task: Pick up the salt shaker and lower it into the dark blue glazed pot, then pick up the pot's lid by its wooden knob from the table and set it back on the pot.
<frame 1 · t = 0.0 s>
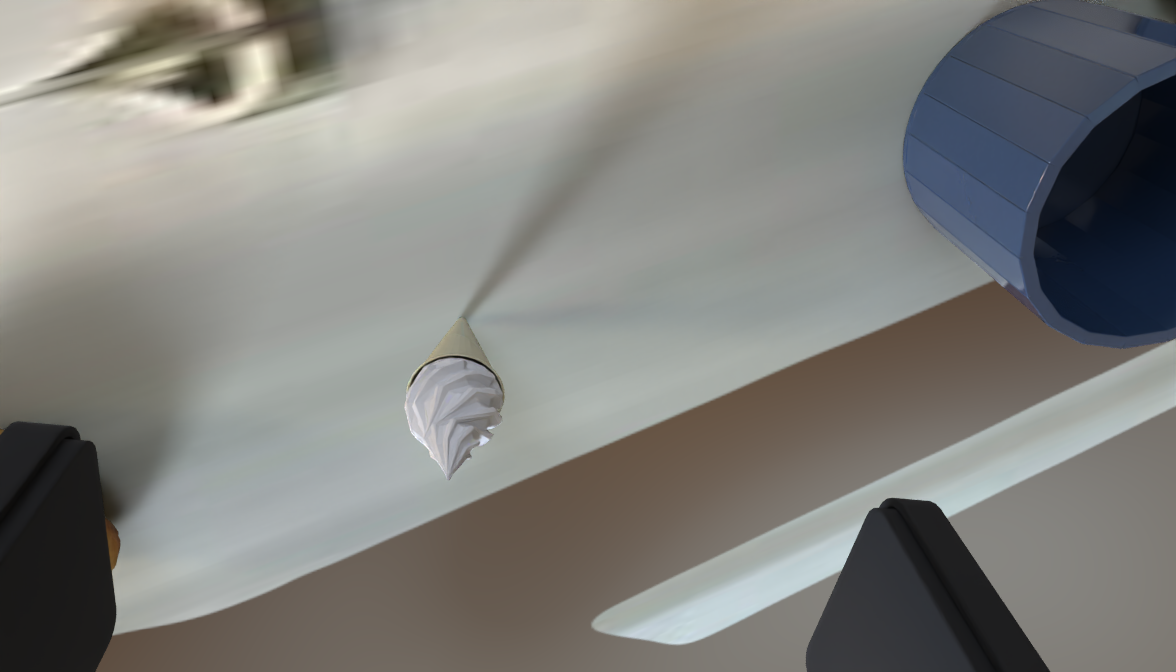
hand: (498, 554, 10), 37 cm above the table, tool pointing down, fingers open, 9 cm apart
pot: (1023, 129, 47), on the table
bread roll: (45, 489, 54), on the table
ice cream cone: (461, 318, 50), on the table
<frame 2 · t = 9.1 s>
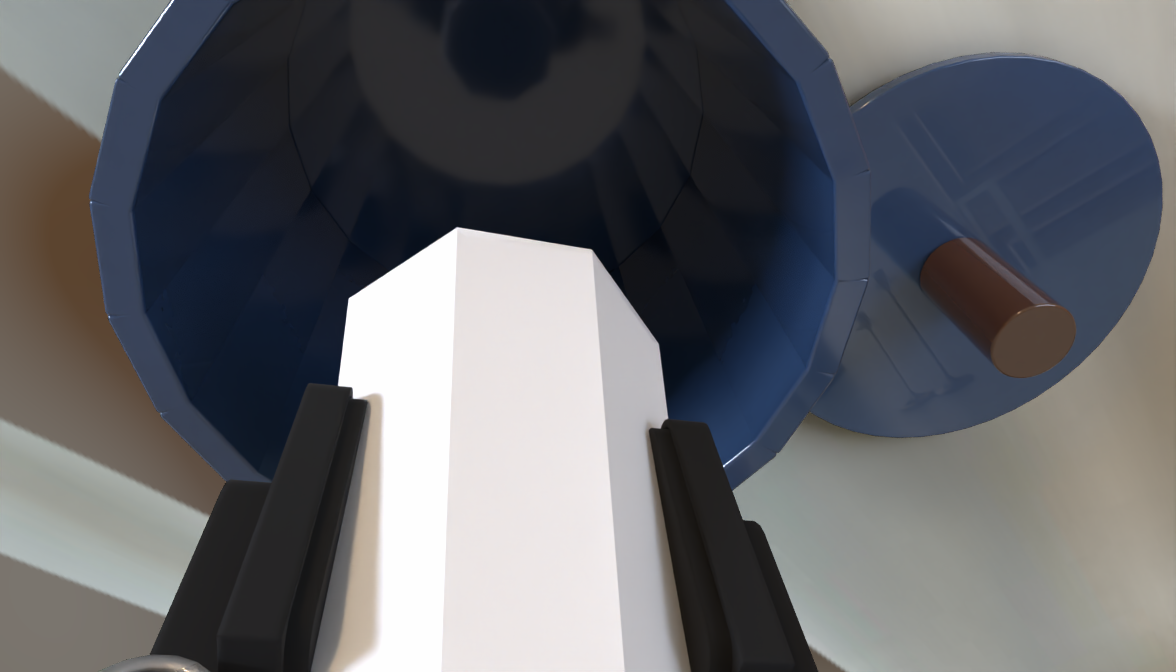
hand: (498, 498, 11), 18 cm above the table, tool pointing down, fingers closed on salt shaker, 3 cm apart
pot: (500, 115, 26), on the table
lid: (947, 263, 30), point 1 cm above the table
salt shaker: (498, 364, 14), point 14 cm above the table, touching gripper
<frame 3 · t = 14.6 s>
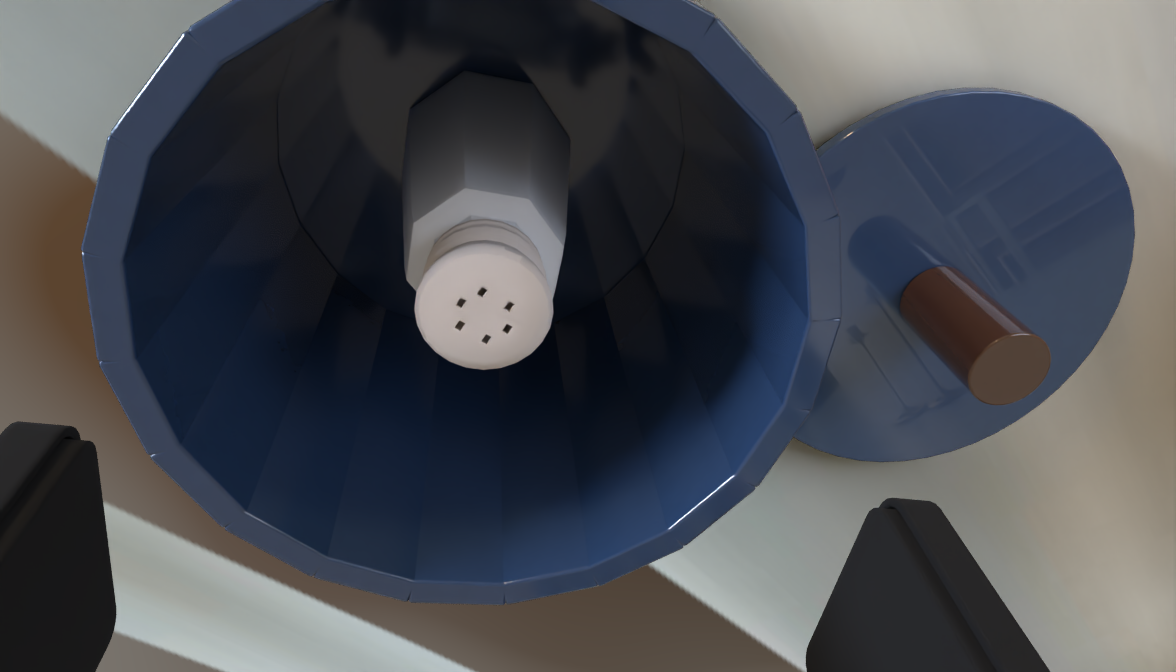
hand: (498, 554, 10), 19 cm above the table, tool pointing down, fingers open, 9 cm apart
pot: (485, 151, 27), on the table
lid: (926, 291, 30), point 1 cm above the table
salt shaker: (486, 154, 27), resting on pot
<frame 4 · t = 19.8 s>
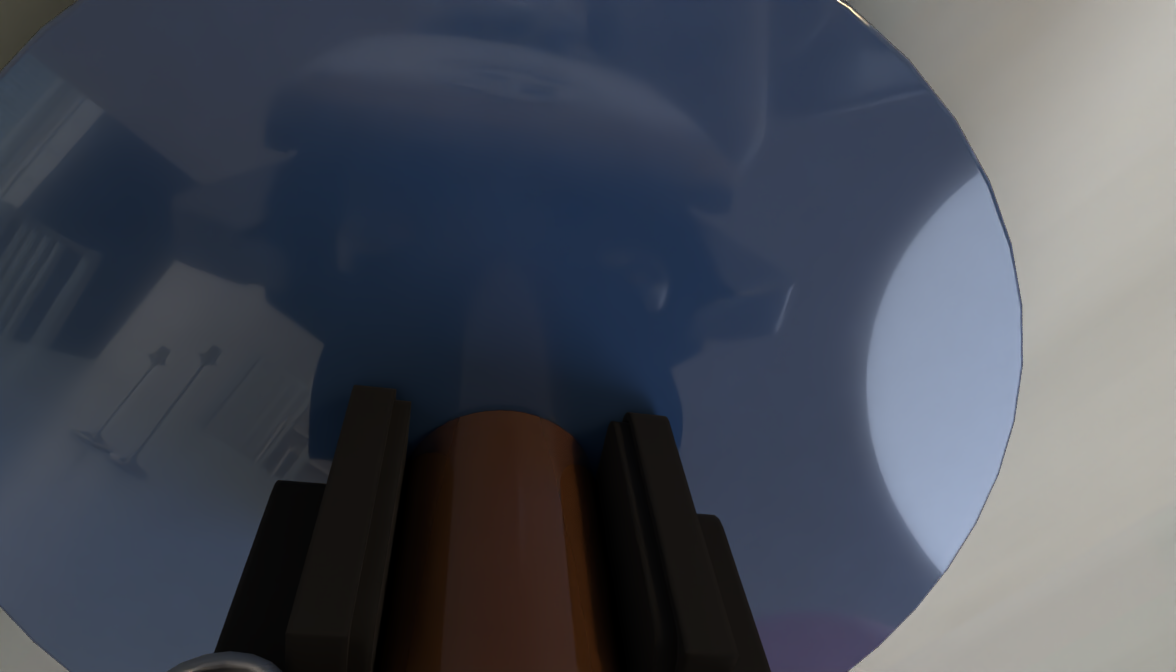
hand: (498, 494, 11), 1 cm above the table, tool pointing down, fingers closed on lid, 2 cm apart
lid: (499, 457, 12), point 1 cm above the table, touching gripper
when the fingers open (13 cm above the table, at t = 25.6 s): lid stays where it is, resting on pot.
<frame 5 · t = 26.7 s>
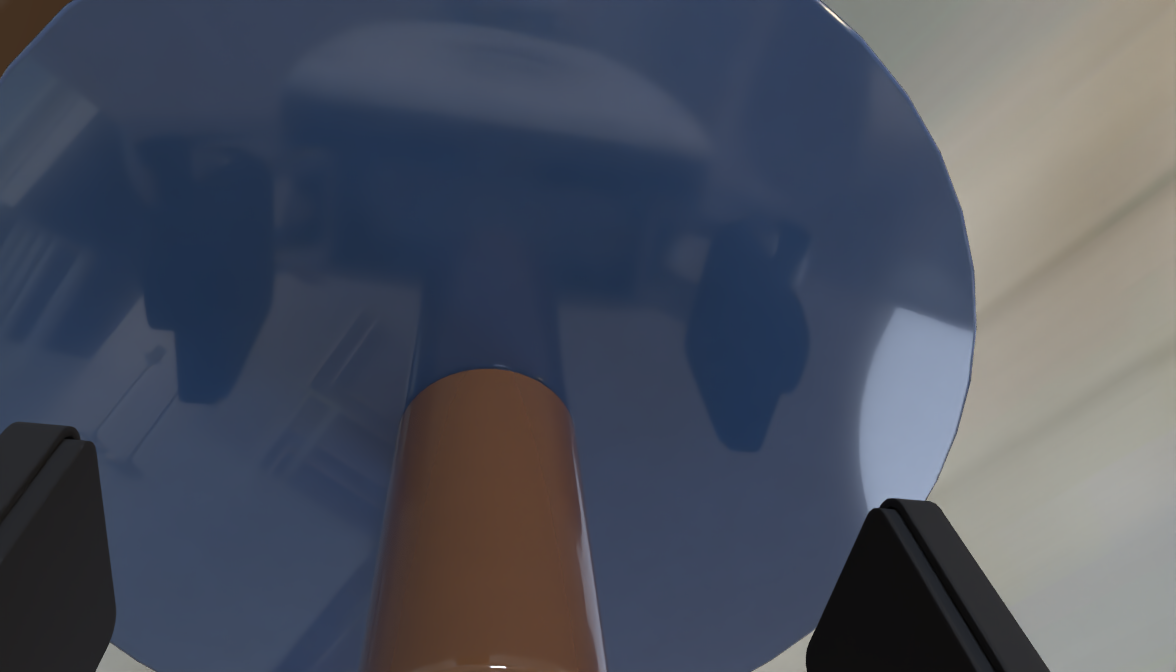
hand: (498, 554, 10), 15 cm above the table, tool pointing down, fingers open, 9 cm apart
lid: (487, 417, 13), point 12 cm above the table, touching pot
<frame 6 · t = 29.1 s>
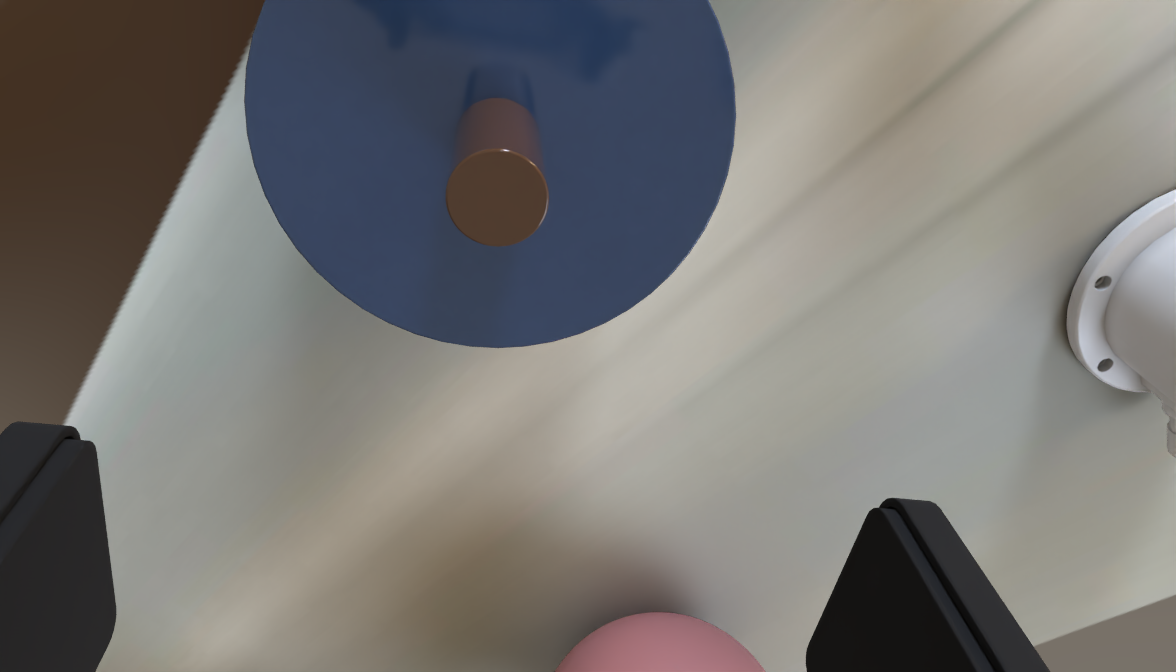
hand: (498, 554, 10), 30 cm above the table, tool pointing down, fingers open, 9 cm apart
balloon: (612, 654, 57), on the table
lid: (497, 134, 26), point 12 cm above the table, touching pot
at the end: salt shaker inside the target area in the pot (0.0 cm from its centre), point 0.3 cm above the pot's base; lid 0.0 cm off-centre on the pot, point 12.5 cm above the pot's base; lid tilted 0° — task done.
